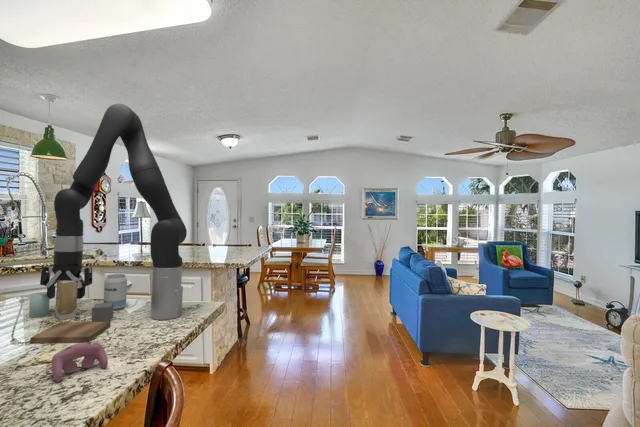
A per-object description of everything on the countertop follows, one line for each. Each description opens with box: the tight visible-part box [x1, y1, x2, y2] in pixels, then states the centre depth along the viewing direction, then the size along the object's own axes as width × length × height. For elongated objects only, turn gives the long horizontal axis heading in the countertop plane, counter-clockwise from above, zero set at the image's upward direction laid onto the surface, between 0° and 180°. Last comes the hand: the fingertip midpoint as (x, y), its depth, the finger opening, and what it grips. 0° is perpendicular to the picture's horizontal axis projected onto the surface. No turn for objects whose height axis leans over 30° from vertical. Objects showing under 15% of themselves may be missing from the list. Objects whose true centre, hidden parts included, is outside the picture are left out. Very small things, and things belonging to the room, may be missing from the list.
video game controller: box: [51, 341, 109, 383], centre depth 71 cm, size 10×5×7 cm, turn 140°
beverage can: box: [103, 273, 128, 311], centre depth 116 cm, size 7×7×12 cm
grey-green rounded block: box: [28, 291, 51, 319], centre depth 106 cm, size 5×5×7 cm
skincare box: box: [54, 280, 79, 321], centre depth 105 cm, size 6×4×12 cm
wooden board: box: [29, 321, 112, 344], centre depth 91 cm, size 14×12×2 cm
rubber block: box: [90, 302, 114, 322], centre depth 103 cm, size 5×5×5 cm
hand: (65, 298), depth 105 cm, fingers open, 8 cm apart
